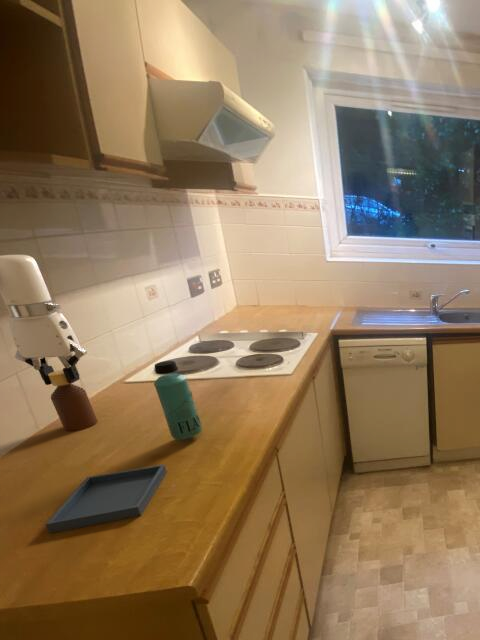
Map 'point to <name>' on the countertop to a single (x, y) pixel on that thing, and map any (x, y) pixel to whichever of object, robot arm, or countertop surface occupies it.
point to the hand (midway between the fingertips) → (62, 381)
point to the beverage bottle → (177, 401)
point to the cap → (58, 378)
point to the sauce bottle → (73, 407)
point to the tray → (108, 498)
